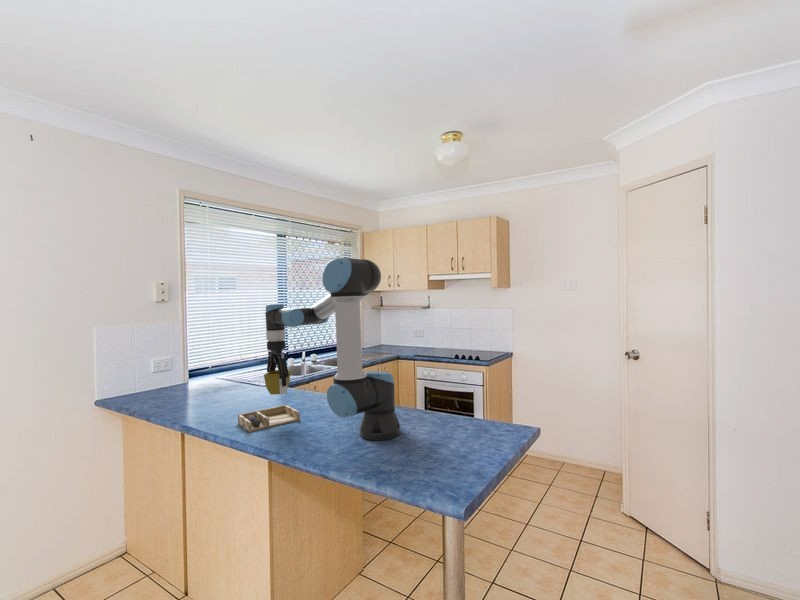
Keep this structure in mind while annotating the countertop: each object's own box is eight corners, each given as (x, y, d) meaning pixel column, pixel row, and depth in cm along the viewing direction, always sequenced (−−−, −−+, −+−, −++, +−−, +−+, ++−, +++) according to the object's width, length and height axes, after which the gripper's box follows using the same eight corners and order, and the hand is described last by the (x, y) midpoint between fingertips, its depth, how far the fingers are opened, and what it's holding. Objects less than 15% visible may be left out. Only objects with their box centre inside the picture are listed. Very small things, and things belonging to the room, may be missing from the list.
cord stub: (261, 426, 160) (261, 419, 160) (254, 427, 158) (254, 420, 158) (253, 420, 168) (252, 413, 168) (246, 421, 167) (246, 415, 167)
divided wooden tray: (299, 420, 168) (299, 411, 168) (249, 432, 155) (248, 422, 155) (286, 413, 180) (285, 404, 180) (238, 423, 167) (237, 414, 167)
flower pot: (264, 396, 164) (263, 374, 164) (271, 391, 172) (270, 370, 172) (285, 395, 163) (284, 373, 163) (291, 390, 172) (290, 369, 172)
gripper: (295, 341, 161) (297, 394, 161) (274, 337, 179) (276, 385, 180) (277, 343, 156) (279, 398, 156) (257, 339, 175) (259, 388, 175)
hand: (278, 391), depth 168 cm, fingers closed on flower pot, 11 cm apart
